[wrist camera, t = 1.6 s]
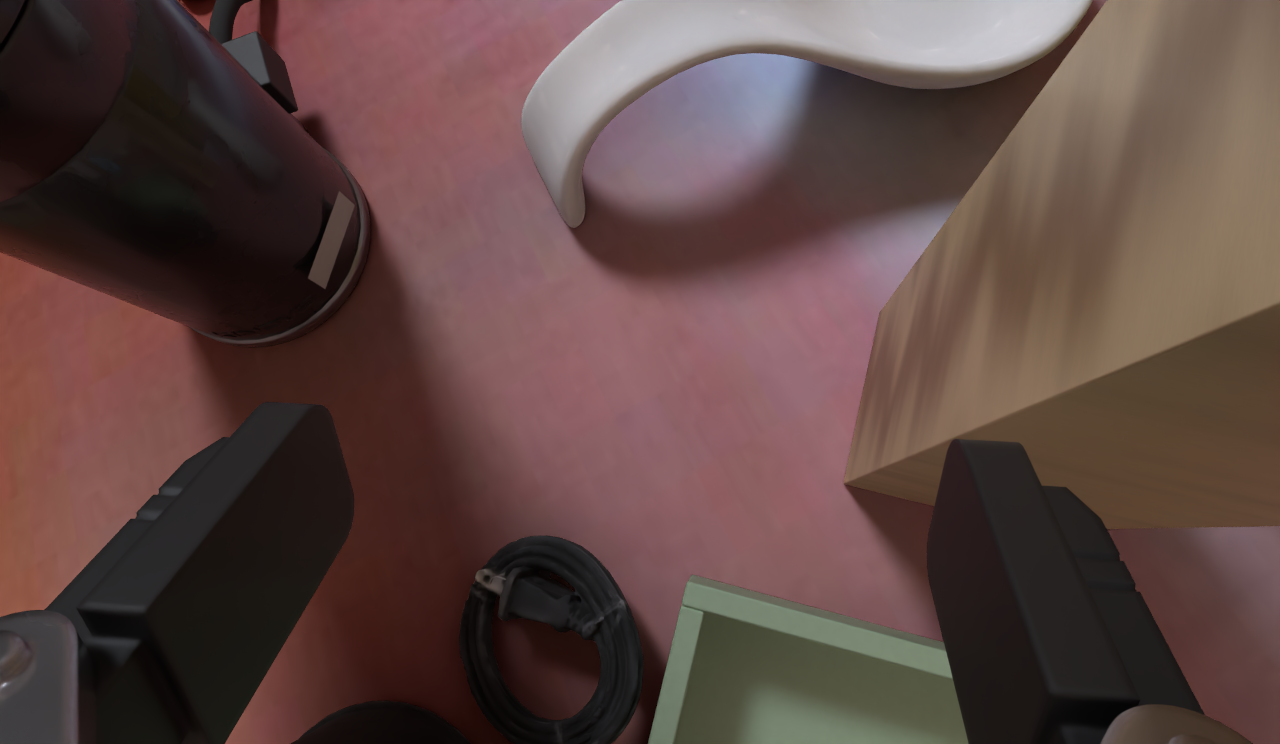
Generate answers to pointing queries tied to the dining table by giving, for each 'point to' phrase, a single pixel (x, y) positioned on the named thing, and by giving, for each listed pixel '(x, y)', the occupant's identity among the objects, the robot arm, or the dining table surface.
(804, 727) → the shallow green tray
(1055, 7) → the spoon rest
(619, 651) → the milk frother
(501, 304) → the dining table surface
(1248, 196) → the stand
